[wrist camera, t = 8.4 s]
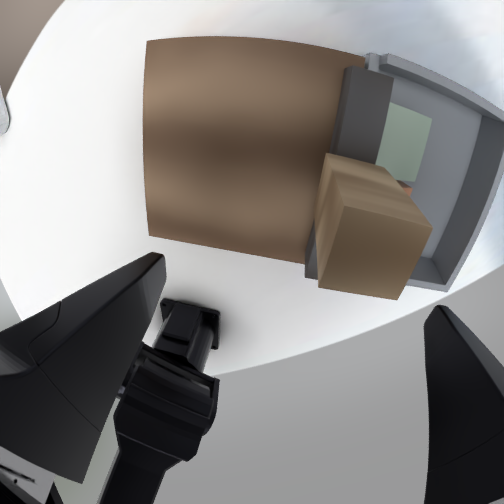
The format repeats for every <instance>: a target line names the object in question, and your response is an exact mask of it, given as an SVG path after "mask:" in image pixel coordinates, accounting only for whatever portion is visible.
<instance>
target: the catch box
mask: <svg viewBox="0 0 504 504" xmlns="http://www.w3.org/2000/svg"><path fill="white" fill-rule="evenodd" d="M362 57H365V58H366V59H365V65H364V68H365V69H368V70H372V71H375V72H378V73H381V74H384V75H387V76H390V77H393V78H394V82H393V88H392V93H391V99H390V102H391V103H394V104H396V105H399V106H402V107H404V108H407V109H410V110H412V111H415V112H417V113H419V114H422V115H424V116H427V117H429V118H431V119H432V122H431V127H430V131H429V135H428V139H427V142H426V146H425V150H424V153H423V157H422V160H421V164H420V167H419V170H418V174H417V177H416V180H415V182H412V181H402V180H400V181H402V182H404V183H405V184H407V185H408V186H410V187H411V188H413V189H412V192H411V195H410V198H411V199H412V200H413V202H414V203H415V204H416V206H417V207H418V208H419V209H420V211H421V212H422V213H423V215H424V216H425V217H426V219H427V220H428V221H429V223H430V224H431V225H432V227H433V230H432V232H431V234H430V237H429V239H428V241H427V243H426V245H425V248H424V250H423V252H422V254H421V256H420V258H419V260H418V262H417V264H416V266H415V268H414V270H413V272H412V274H411V276H410V278H409V280H408V282H407V283H406V285H408V286H414V287H419V288H425V289H431V290H437V291H443V292H448V290H449V289H450V287H451V285H452V284H453V282H454V280H455V279H456V277H457V275H458V273H459V272H460V270H461V268H462V266H463V264H464V263H465V261H466V259H467V257H468V255H469V253H470V251H471V249H472V247H473V245H474V243H475V241H476V239H477V237H478V235H479V233H480V231H481V229H482V226H483V224H484V222H485V220H486V217H487V215H488V213H489V210H490V208H491V205H492V203H493V200H494V198H495V195H496V192H497V189H498V187H499V184H500V181H501V178H502V175H503V172H504V111H502V110H501V109H499V108H498V107H496V106H495V105H493V104H492V103H490V102H489V101H487V100H485V99H484V98H482V97H481V96H479V95H477V94H476V93H474V92H472V91H470V90H469V89H467V88H465V87H463V86H461V85H460V84H458V83H456V82H454V81H452V80H450V79H448V78H446V77H444V76H442V75H440V74H438V73H436V72H433V71H431V70H429V69H427V68H425V67H422V66H420V65H418V64H415V63H413V62H410V61H408V60H405V59H402V58H400V57H397V56H394V55H391V54H389V53H388V54H385V55H382V56H380V55H377V54H373V53H369V54H366V55H364V56H362Z"/></svg>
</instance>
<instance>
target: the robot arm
mask: <svg viewBox="0 0 504 504" xmlns="http://www.w3.org/2000/svg"><path fill="white" fill-rule="evenodd" d="M165 282H166V264H165V257H164V255H163V254H160V253H155V252H151V253H148V254H146V255H144V256H142V257H140V258H138V259H137V260H135V261H133V262H131V263H129V264H127V265H125V266H123V267H121V268H119V269H117V270H115V271H113V272H112V273H110V274H108V275H106V276H104V277H102V278H100V279H98V280H97V281H95V282H93V283H91V284H89V285H87V286H86V287H84V288H82V289H80V290H78V291H77V292H75V293H73V294H71V295H69V296H68V297H66V298H64V299H62V301H59V302H57V303H55V304H53V305H52V306H50V307H48V308H46V309H44V310H43V311H41V312H39V313H37V314H35V315H33V316H31V317H29V318H27V319H25V320H23V321H21V322H19V323H17V324H15V325H13V326H11V327H9V328H7V329H5V330H3V331H1V332H0V504H63V502H62V499H61V497H60V495H59V493H58V491H57V488H56V486H55V483H54V478H55V476H56V474H57V475H59V476H62V477H64V478H67V479H69V480H72V481H75V482H78V483H81V484H82V483H83V481H84V478H85V475H86V472H87V470H88V467H89V464H90V461H91V458H92V455H93V453H94V451H95V448H96V445H97V443H98V440H99V438H100V435H101V432H102V430H103V427H104V425H105V422H106V419H107V417H108V415H109V412H110V410H111V408H112V405H113V403H114V401H115V398H118V399H120V401H119V403H118V405H117V408H116V410H115V412H114V415H113V419H114V425H115V431H116V436H117V441H118V446H119V447H118V450H117V452H116V455H115V457H114V460H113V462H112V465H111V467H110V470H109V472H108V475H107V477H106V480H105V483H104V485H103V488H102V491H101V493H100V496H99V499H98V501H97V504H153V502H154V500H155V497H156V495H157V492H158V489H159V487H160V484H161V482H162V479H163V477H164V474H165V472H166V471H167V470H168V469H170V468H171V467H173V466H174V465H176V464H177V463H179V462H180V461H182V460H183V461H186V462H187V461H189V460H190V459H192V458H193V457H194V456H195V455H196V453H197V450H198V447H199V444H200V441H201V438H202V436H204V435H205V434H206V433H207V432H208V431H209V429H210V428H211V426H212V424H213V422H214V419H215V416H216V411H217V402H218V392H219V382H220V380H219V379H217V378H213V377H210V376H208V375H206V374H204V373H203V370H204V367H205V364H206V361H207V358H208V355H209V351H210V349H214V350H217V349H218V347H219V329H220V313H219V312H217V311H214V310H209V309H205V308H200V307H196V306H192V305H187V304H183V303H179V302H175V301H171V300H167V299H162V300H161V302H160V306H161V312H162V318H163V325H162V327H161V329H160V331H159V333H158V335H157V337H156V339H155V341H154V343H153V345H152V347H150V346H148V345H146V344H144V342H143V341H142V339H143V337H144V335H145V333H146V331H147V329H148V327H149V324H150V322H151V320H152V317H153V314H154V312H155V309H156V306H157V303H158V301H159V298H160V295H161V293H162V290H163V287H164V285H165ZM424 341H425V368H426V378H427V391H428V407H429V456H428V457H429V458H428V472H427V482H426V491H425V492H426V493H425V500H424V504H504V367H503V366H502V364H501V363H500V362H499V361H498V360H497V359H496V358H495V356H494V355H493V354H492V353H491V352H490V351H489V349H488V348H486V346H485V345H484V344H483V343H482V342H481V341H480V340H479V339H478V337H477V336H476V335H475V334H474V333H473V332H472V331H471V330H470V329H469V328H468V327H467V326H466V325H465V324H464V323H463V322H462V321H461V320H460V319H459V318H458V317H457V316H456V315H455V314H454V313H453V312H452V311H451V310H450V309H449V308H448V307H446V306H443V305H437V306H435V307H434V309H433V311H432V312H431V314H430V315H429V316H428V318H427V319H426V321H425V323H424Z"/></svg>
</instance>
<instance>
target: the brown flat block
mask: <svg viewBox="0 0 504 504" xmlns="http://www.w3.org/2000/svg"><path fill="white" fill-rule="evenodd" d="M365 59H366V58H365V57H361V56H358V55H354V54H350V53H346V52H342V51H338V50H334V49H329V48H324V47H319V46H314V45H309V44H303V43H296V42H289V41H282V40H273V39H263V38H250V37H227V36H204V37H181V38H168V39H158V40H150V41H147V45H146V56H145V70H144V89H143V162H144V183H145V198H146V210H147V221H148V231H149V236H154V237H159V238H165V239H170V240H175V241H181V242H186V243H192V244H197V245H202V246H208V247H213V248H219V249H224V250H230V251H235V252H240V253H246V254H251V255H257V256H262V257H268V258H273V259H279V260H284V261H290V262H295V263H301V264H305V252H306V248H307V244H308V240H309V236H310V232H311V228H312V224H313V220H314V205H315V201H316V196H317V192H318V188H319V183H320V179H321V174H322V169H323V165H324V160H325V155H326V153H329V150H330V145H331V140H332V135H333V130H334V125H335V120H336V115H337V109H338V104H339V98H340V92H341V86H342V80H343V74H344V68H347V67H350V66H352V65H354V66H358V67H361V68H364V65H365Z"/></svg>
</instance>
